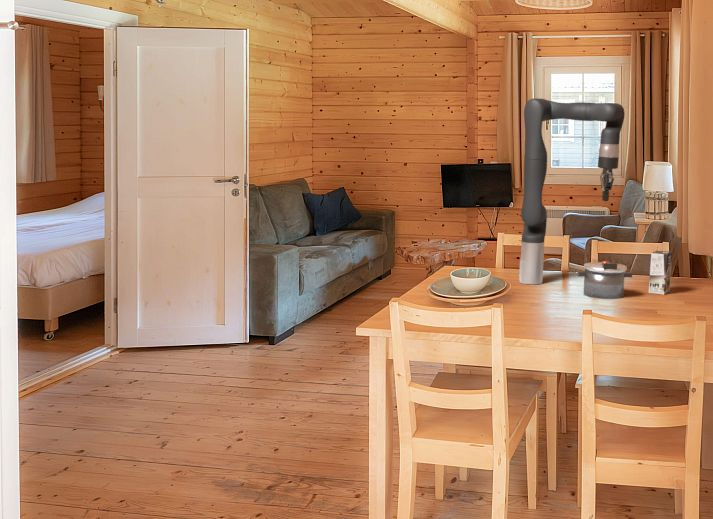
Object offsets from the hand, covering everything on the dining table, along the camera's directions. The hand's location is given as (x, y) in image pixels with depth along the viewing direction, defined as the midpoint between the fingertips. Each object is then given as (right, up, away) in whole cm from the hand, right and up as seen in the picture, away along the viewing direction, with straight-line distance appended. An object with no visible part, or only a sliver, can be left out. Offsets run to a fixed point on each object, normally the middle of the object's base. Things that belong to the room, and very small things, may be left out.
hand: (605, 200), depth 354 cm
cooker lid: (0, -27, -1) cm, 27 cm away
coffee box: (+24, -36, +9) cm, 44 cm away
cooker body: (0, -37, +1) cm, 37 cm away
